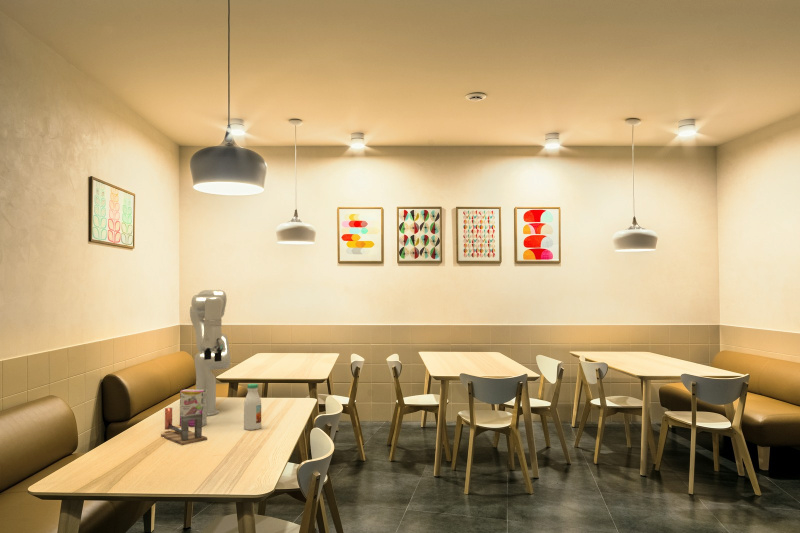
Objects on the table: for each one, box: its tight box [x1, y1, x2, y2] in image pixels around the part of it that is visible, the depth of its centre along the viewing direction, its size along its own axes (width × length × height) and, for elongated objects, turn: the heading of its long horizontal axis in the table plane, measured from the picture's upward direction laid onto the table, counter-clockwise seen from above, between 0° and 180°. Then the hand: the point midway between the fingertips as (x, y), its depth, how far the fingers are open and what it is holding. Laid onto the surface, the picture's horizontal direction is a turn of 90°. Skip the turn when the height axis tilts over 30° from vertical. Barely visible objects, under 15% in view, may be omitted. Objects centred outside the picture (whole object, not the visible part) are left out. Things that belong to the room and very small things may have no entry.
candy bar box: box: [179, 388, 208, 428], centre depth 259 cm, size 11×5×16 cm, turn 84°
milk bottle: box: [243, 383, 262, 431], centre depth 254 cm, size 8×8×20 cm
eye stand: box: [160, 413, 208, 446], centre depth 237 cm, size 20×11×11 cm, turn 46°
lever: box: [164, 407, 181, 433], centre depth 243 cm, size 17×3×9 cm, turn 46°
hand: (212, 360), depth 260 cm, fingers open, 9 cm apart
